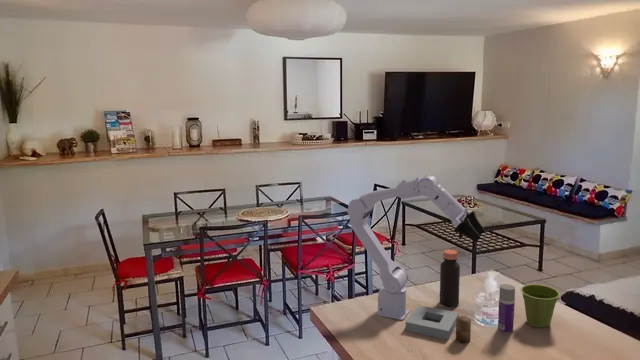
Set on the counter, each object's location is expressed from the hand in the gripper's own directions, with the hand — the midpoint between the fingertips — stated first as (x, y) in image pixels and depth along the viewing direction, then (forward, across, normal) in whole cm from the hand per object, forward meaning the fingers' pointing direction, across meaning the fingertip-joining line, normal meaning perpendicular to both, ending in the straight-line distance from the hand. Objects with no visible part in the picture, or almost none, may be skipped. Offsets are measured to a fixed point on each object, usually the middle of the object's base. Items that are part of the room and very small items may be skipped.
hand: (480, 236), depth 150 cm
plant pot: (+34, +14, +13) cm, 39 cm away
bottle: (+12, +16, +32) cm, 38 cm away
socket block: (+11, -3, +33) cm, 35 cm away
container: (+27, +4, +19) cm, 33 cm away
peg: (+19, -8, +26) cm, 33 cm away
